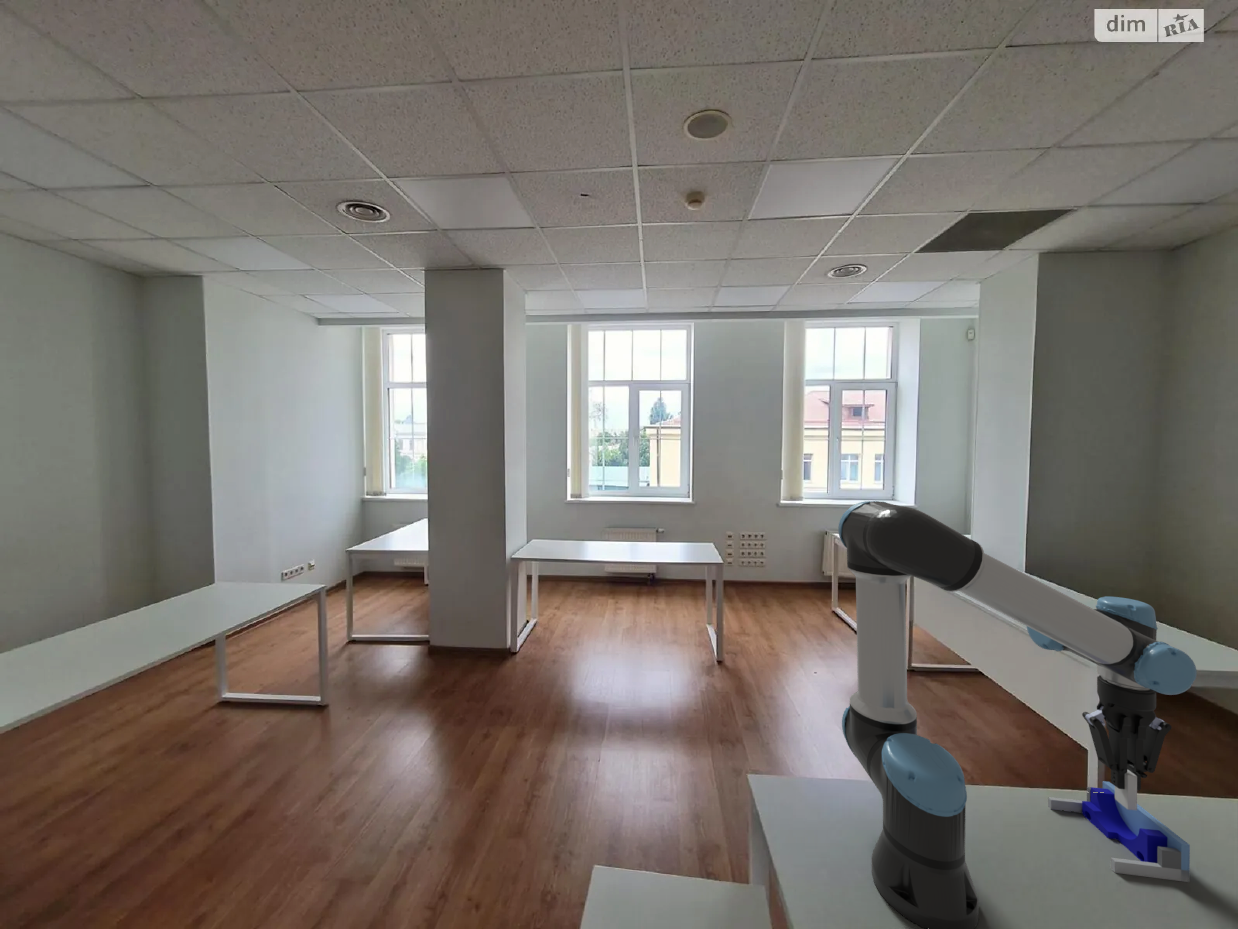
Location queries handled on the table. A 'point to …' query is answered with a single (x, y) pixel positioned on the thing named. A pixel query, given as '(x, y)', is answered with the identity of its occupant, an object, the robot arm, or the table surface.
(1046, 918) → the table surface
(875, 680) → the robot arm
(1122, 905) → the table surface
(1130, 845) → the blue arched bracket piece
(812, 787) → the table surface
